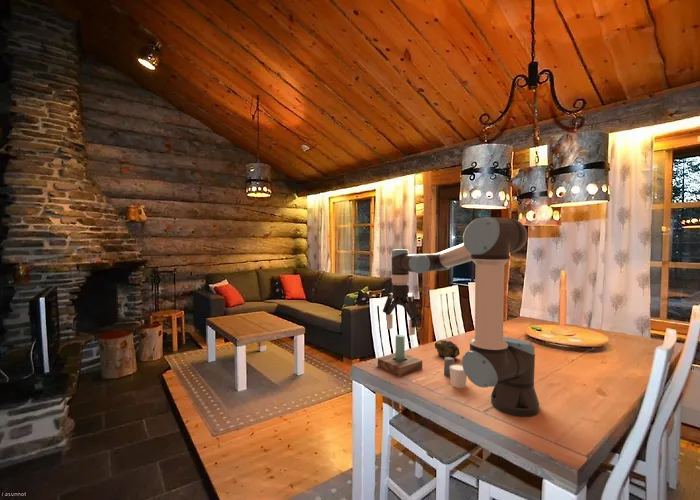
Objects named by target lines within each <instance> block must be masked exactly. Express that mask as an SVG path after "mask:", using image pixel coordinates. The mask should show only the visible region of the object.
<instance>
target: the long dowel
mask: <svg viewBox="0 0 700 500" xmlns="http://www.w3.org/2000/svg"><path fill="white" fill-rule="evenodd" d="M405 337H406V336H405V335H403V334H396V335H395V361H397V362H403V361H404V358H405V354H406V353H405V352H406V350H405V346H406V345H405V341H406V340H405V339H406V338H405Z"/></svg>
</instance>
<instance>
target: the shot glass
mask: <svg viewBox="0 0 700 500" xmlns="http://www.w3.org/2000/svg"><path fill="white" fill-rule="evenodd" d="M449 378H450V385H451V386H452V387H454V388H457V389H462V388H466V385H467V380H468V379H467V378H468V376H467V375H466V374H465V372H464V370H463V366H462V364H454V365H451V366H450V377H449Z"/></svg>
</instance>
